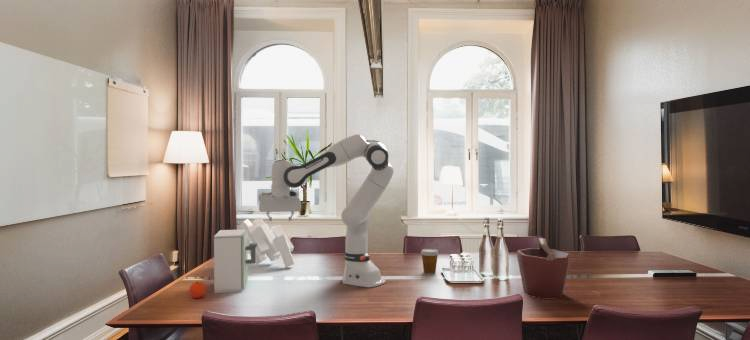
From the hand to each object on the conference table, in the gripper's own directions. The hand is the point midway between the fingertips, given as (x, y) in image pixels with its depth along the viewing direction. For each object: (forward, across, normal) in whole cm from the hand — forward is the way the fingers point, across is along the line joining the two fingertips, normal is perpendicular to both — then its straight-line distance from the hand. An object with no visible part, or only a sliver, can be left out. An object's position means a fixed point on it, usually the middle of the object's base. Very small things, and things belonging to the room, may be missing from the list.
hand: (280, 220), depth 212 cm
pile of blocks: (+31, -10, +42) cm, 53 cm away
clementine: (+32, -34, -14) cm, 49 cm away
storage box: (+31, -23, 0) cm, 39 cm away
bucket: (+30, +118, -37) cm, 127 cm away
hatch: (+30, -14, 0) cm, 33 cm away
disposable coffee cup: (+30, +80, +9) cm, 86 cm away
